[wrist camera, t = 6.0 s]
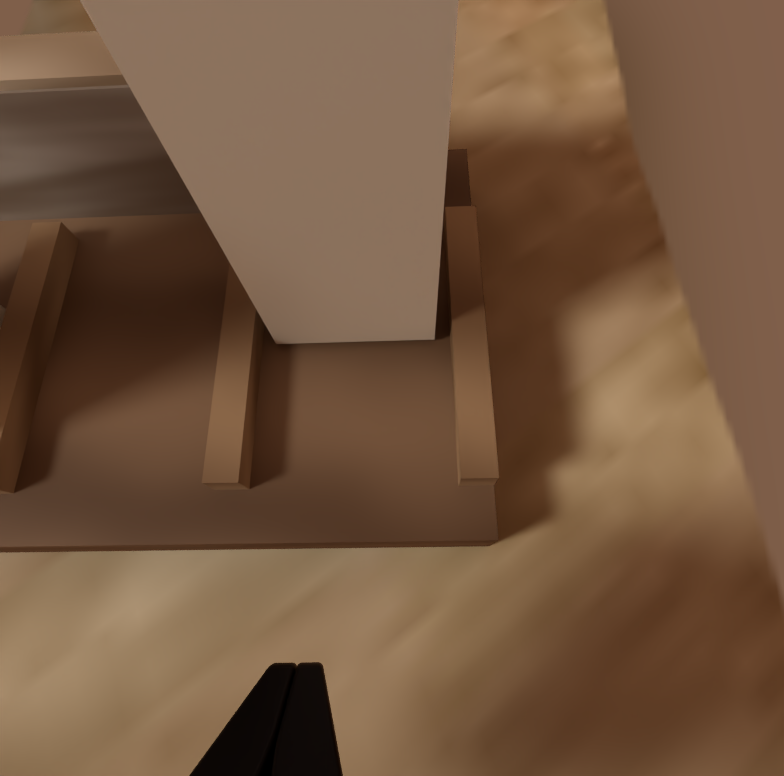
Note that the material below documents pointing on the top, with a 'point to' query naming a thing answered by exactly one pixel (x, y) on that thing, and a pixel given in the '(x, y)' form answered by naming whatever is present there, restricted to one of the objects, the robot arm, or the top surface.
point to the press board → (204, 357)
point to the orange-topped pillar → (305, 147)
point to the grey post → (2, 314)
